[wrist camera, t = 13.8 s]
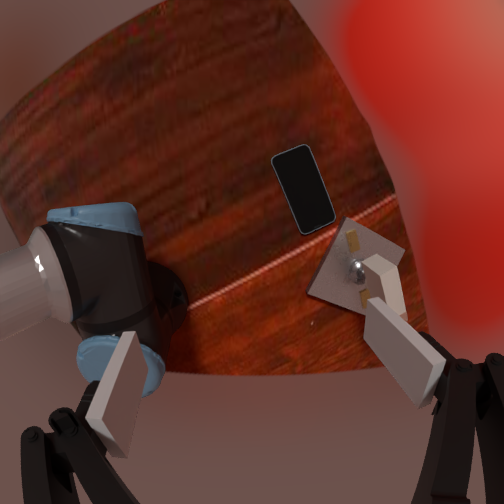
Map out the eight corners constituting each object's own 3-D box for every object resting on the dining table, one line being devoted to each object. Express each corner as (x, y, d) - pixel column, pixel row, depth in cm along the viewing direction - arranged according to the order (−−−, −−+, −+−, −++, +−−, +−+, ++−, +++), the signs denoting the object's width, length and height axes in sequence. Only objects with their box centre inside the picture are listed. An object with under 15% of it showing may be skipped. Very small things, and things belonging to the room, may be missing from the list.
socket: (365, 313, 60) (379, 328, 53) (305, 290, 56) (315, 305, 50) (401, 248, 56) (418, 257, 50) (343, 215, 53) (358, 222, 46)
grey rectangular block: (356, 259, 48) (379, 276, 40) (372, 250, 48) (397, 266, 40) (371, 308, 51) (391, 330, 44) (385, 300, 51) (407, 320, 44)
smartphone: (307, 142, 48) (337, 219, 52) (306, 142, 49) (335, 219, 53) (269, 158, 48) (301, 236, 52) (268, 158, 49) (300, 235, 53)
